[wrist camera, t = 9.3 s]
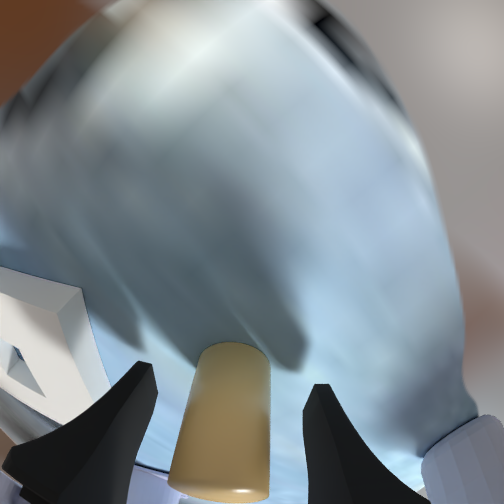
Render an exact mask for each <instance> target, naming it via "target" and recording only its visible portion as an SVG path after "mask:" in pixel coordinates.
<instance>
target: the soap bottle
mask: <svg viewBox="0 0 504 504" xmlns="http://www.w3.org/2000/svg"><path fill="white" fill-rule="evenodd" d="M421 474H422V477H423V481H424V484H425V488H426V492H427V496H428V500H429V501H430V502H431V504H504V428H503V425H502V423H501V421H500V420H498V419H497V418H496V417H495V416H491V415H483V416H480V417H478V418H476V419H474V420H472V421H470V422H468V423H467V424H465V425H463V426H461V427H459V428H458V429H456V430H455V431H453V432H452V433H450V434H449V435H447V436H446V437H445V438H444V439H442V440H441V441H439V442H438V443H437V444H436V445H434V446H433V447H432V448H431V449H430V450H429V451H428V452H427V453H426V455H425V456H424V459H423V461H422V464H421Z"/></svg>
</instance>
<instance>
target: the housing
mask: <svg viewBox="0 0 504 504" xmlns="http://www.w3.org/2000/svg"><path fill="white" fill-rule="evenodd" d="M14 346H15V347H17V348H19V350H20V352H21V354H22V356H23V358H24V360H25V361H23V360H21V359H20V358H19V356H18V354H17V352H16V350H15V348H14ZM0 387H1V388H2V389H3V390H5V391H6V392H8V393H9V394H11V395H12V396H14V397H15V398H17V399H18V400H20V401H21V402H23V403H24V404H26V405H28V406H29V407H31V408H33V409H34V410H36V411H38V412H40V413H41V414H43V415H45V416H47V417H49V418H50V419H52V420H54V421H56V422H58V423H60V424H62V425H65V424H66V423H68V422H70V421H71V420H73V419H74V418H76V417H77V416H78V415H80V414H81V413H83V412H84V411H85V410H87V409H88V408H89V407H90V406H91V405H93V404H94V403H95V402H96V401H97V400H99V399H100V398H101V397H102V396H103V395H104V394H105V393H106V392H107V391H108V390H110V389H111V388H112V387H111V385H110V382H109V380H108V377H107V374H106V372H105V369H104V366H103V363H102V360H101V358H100V355H99V352H98V348H97V345H96V342H95V339H94V336H93V332H92V329H91V325H90V322H89V318H88V314H87V310H86V306H85V302H84V298H83V293H82V289H81V288H78V287H74V286H70V285H66V284H62V283H58V282H54V281H50V280H46V279H43V278H39V277H35V276H32V275H28V274H25V273H21V272H18V271H14V270H11V269H8V268H5V267H1V266H0Z"/></svg>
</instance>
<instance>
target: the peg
mask: <svg viewBox="0 0 504 504" xmlns="http://www.w3.org/2000/svg"><path fill="white" fill-rule="evenodd" d="M270 391H271V374H270V363H269V360H268V359H267V357H266V356H265V355H264V354H263V353H262V352H261V351H259V350H258V349H256V348H254V347H252V346H250V345H247V344H243V343H238V342H222V343H217V344H214V345H212V346H210V347H208V348H206V349H205V350H204V351H203V352H202V353H201V355H200V357H199V361H198V364H197V368H196V372H195V375H194V379H193V383H192V386H191V390H190V394H189V398H188V401H187V405H186V409H185V413H184V416H183V420H182V424H181V428H180V432H179V436H178V440H177V444H176V447H175V451H174V455H173V459H172V463H171V468H170V472H169V476H168V480H167V484H168V485H169V486H170V487H171V488H173V489H175V490H177V491H179V492H181V493H183V494H186V495H189V496H192V497H196V498H199V499H204V500H209V501H215V502H223V503H251V502H258V501H262V500H265V499H267V498H268V497H269V480H270Z"/></svg>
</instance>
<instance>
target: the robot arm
mask: <svg viewBox="0 0 504 504" xmlns="http://www.w3.org/2000/svg"><path fill="white" fill-rule="evenodd" d="M157 395H158V390H157V386H156V381H155V376H154V372H153V367H152V364H150V363H146V362H142V361H137V362H136V363H135V364H134V365H133V366H132V367H131V368H130V369H129V371H128V372H127V373H126V374H125V375H124V376H123V377H122V378H121V379H120V380H119V381H118V382H117V383H116V384H115V385H114V386H113V387H112V388H111V389H110V390H108V391H107V392H106V393H105V394H104V395H103V396H102V397H101V398H100V399H99V400H97V401H96V402H95V403H94V404H93V405H91V406H90V407H89V408H88V409H87V410H85V411H84V412H83V413H81V414H80V415H78V416H77V417H76V418H74V419H73V420H71V421H70V422H68V423H66V424H65V425H63V426H61V427H60V428H58V429H56V430H54V431H52V432H50V433H48V434H46V435H44V436H41V437H39V438H37V439H35V440H32V441H29V442H26V443H23V444H20V445H17V446H13V447H12V448H11V450H10V451H9V453H8V455H7V457H6V459H5V461H4V463H3V465H2V469H3V470H4V471H6V472H7V473H8V474H9V475H11V476H12V477H13V478H14V479H16V480H17V481H19V482H20V483H21V484H22V485H23V486H21V485H20V484H18V483H17V482H15V481H13V480H12V479H11V478H9V477H8V476H7V475H5V474H4V473H3V472H2V471H1V470H0V504H179V499H180V497H181V498H186V499H187V498H188V495H186V494H183V493H181V492H179V491H177V490H175V489H173V488H171V487H170V486H169V485H168V484H167V480H168V476H169V474H165V473H161V472H158V471H154V470H150V469H147V468H143V467H140V466H137V465H134V463H135V459H136V456H137V453H138V450H139V447H140V445H141V442H142V440H143V437H144V435H145V432H146V430H147V427H148V425H149V422H150V419H151V417H152V414H153V411H154V407H155V403H156V399H157ZM303 438H304V446H305V454H306V462H307V470H308V482H309V485H308V504H431V502H430V501H429V500H427V499H426V498H424V497H423V496H421V495H419V494H418V493H416V492H415V491H413V490H412V489H411V488H409V487H408V486H407V485H405V484H404V483H403V482H402V481H400V480H399V479H398V478H397V477H396V476H395V475H394V474H393V473H391V472H390V471H389V470H388V469H387V468H386V467H385V466H384V465H383V464H382V463H381V462H380V461H379V459H378V458H377V457H376V456H375V455H374V454H373V453H372V451H371V450H370V449H369V448H368V446H367V445H366V444H365V442H364V441H363V440H362V438H361V437H360V435H359V434H358V432H357V431H356V429H355V428H354V426H353V425H352V423H351V422H350V420H349V418H348V417H347V415H346V414H345V412H344V410H343V408H342V407H341V405H340V403H339V401H338V399H337V398H336V396H335V394H334V392H333V390H332V388H331V386H330V385H329V384H314V386H313V389H312V391H311V393H310V396H309V398H308V400H307V402H306V405H305V407H304V409H303Z"/></svg>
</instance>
